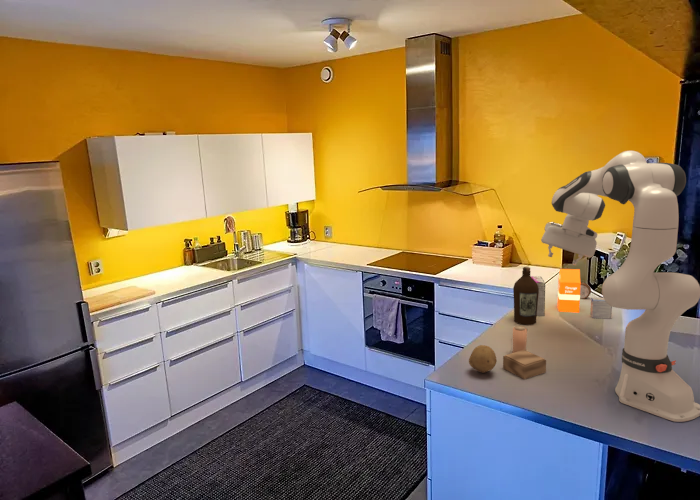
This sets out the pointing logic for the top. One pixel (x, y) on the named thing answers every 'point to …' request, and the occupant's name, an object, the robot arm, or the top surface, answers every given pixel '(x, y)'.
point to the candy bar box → (540, 295)
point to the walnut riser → (524, 364)
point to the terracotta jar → (519, 338)
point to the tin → (584, 290)
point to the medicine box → (600, 308)
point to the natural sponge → (482, 358)
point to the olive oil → (525, 299)
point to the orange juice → (569, 290)
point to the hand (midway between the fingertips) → (561, 260)
